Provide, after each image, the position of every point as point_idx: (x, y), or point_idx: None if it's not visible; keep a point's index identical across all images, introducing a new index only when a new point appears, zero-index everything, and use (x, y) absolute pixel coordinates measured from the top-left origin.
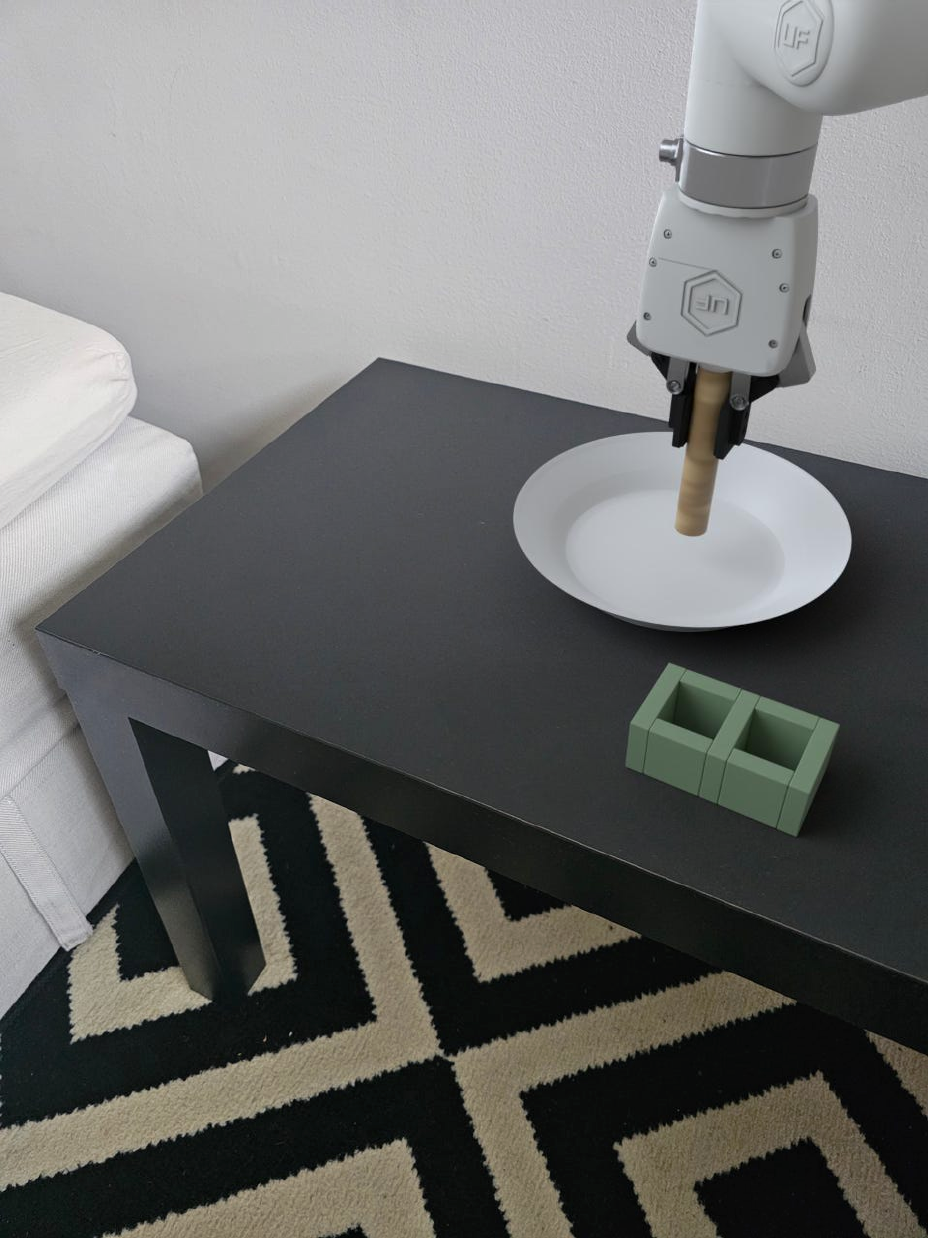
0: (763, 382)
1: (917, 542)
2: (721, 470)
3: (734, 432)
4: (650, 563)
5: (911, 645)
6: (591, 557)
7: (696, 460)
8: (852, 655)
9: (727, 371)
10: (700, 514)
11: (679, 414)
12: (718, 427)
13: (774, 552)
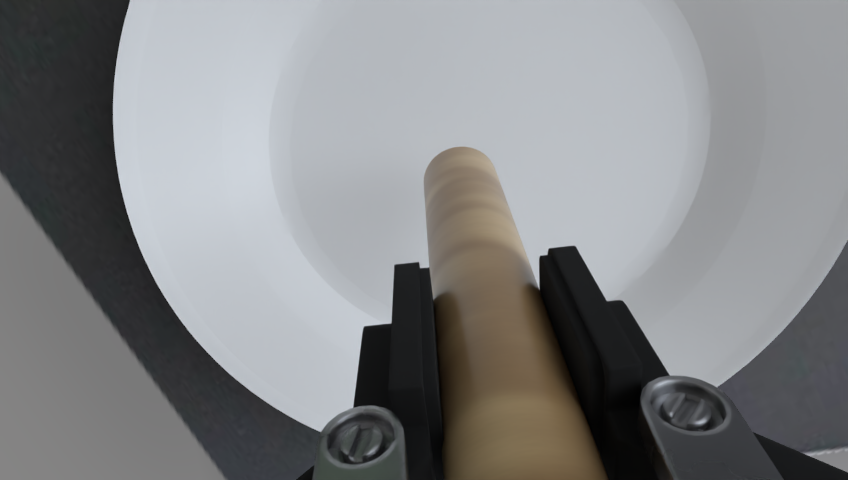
0: None
1: (176, 409)
2: None
3: (379, 348)
4: (510, 103)
5: (18, 180)
6: (630, 48)
7: (479, 244)
8: (68, 93)
9: None
10: (435, 182)
11: (596, 315)
12: (428, 330)
13: (332, 266)
